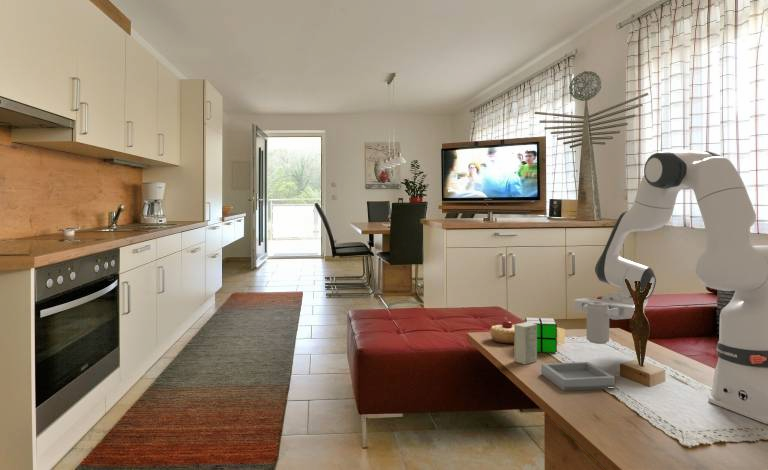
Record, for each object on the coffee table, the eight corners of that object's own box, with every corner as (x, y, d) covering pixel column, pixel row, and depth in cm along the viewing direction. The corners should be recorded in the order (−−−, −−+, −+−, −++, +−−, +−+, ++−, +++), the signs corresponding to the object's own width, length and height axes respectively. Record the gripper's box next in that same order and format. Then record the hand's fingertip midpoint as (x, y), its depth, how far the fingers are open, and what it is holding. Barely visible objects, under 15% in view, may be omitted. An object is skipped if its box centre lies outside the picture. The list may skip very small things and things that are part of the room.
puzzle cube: (553, 346, 181) (554, 318, 180) (556, 353, 171) (557, 324, 171) (524, 344, 183) (525, 317, 183) (526, 352, 173) (526, 323, 173)
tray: (614, 388, 136) (615, 377, 136) (564, 390, 135) (564, 379, 135) (587, 371, 151) (587, 362, 151) (541, 374, 149) (541, 363, 149)
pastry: (497, 346, 181) (497, 321, 181) (485, 338, 193) (485, 315, 192) (528, 344, 183) (528, 320, 183) (515, 336, 195) (515, 313, 194)
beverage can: (605, 339, 158) (605, 301, 157) (612, 344, 151) (612, 304, 151) (584, 339, 158) (584, 301, 158) (590, 344, 152) (590, 304, 151)
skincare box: (526, 358, 166) (526, 321, 165) (537, 361, 162) (537, 323, 161) (513, 361, 162) (513, 324, 162) (524, 364, 158) (524, 326, 158)
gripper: (585, 292, 170) (563, 297, 161) (648, 299, 155) (629, 304, 146) (585, 310, 170) (563, 316, 161) (648, 319, 155) (629, 326, 146)
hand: (595, 311), depth 153 cm, fingers closed on beverage can, 5 cm apart
